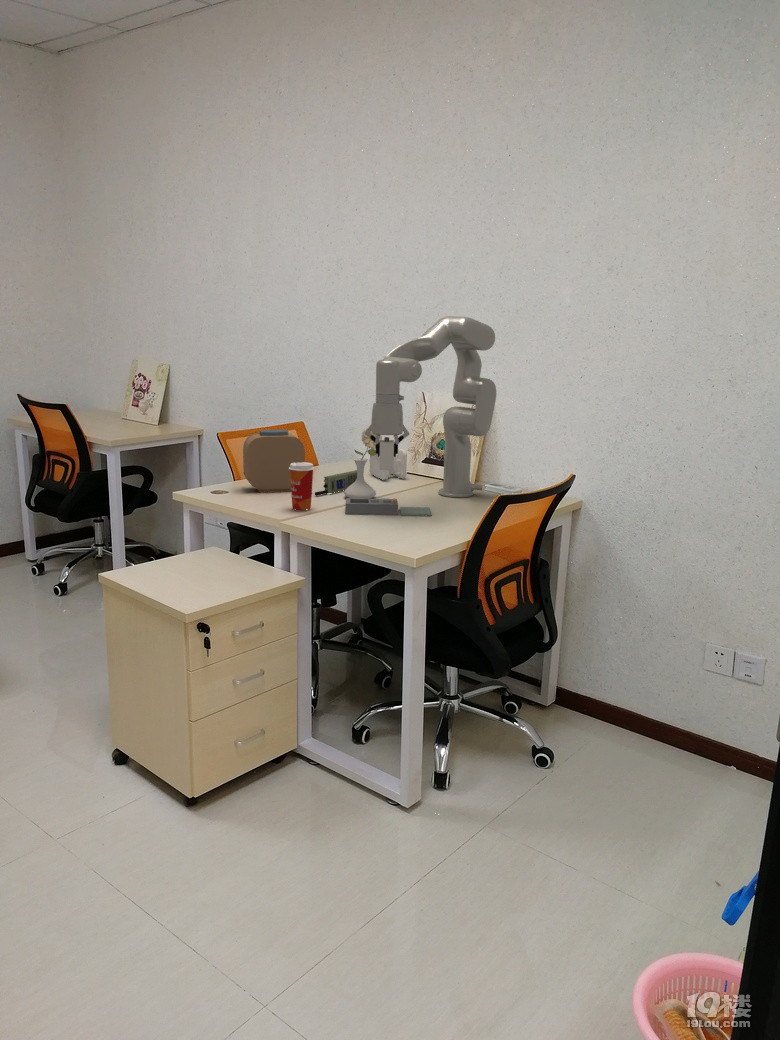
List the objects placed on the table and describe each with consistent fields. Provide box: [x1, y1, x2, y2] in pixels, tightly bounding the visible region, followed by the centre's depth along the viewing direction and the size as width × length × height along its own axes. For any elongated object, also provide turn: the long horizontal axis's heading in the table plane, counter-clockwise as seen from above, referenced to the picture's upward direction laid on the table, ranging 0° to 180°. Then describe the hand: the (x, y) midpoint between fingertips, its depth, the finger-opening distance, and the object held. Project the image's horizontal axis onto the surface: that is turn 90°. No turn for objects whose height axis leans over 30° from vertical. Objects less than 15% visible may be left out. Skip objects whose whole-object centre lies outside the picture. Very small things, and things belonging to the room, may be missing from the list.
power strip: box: [344, 497, 399, 516], centre depth 272 cm, size 17×8×4 cm, turn 92°
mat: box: [399, 506, 433, 517], centre depth 273 cm, size 10×10×1 cm
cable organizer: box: [369, 447, 408, 481], centre depth 327 cm, size 15×11×12 cm
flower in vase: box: [343, 427, 383, 499], centre depth 289 cm, size 13×11×25 cm
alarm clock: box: [242, 429, 306, 493], centre depth 299 cm, size 21×10×22 cm, turn 108°
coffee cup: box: [289, 461, 315, 511], centre depth 272 cm, size 8×8×15 cm
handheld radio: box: [314, 469, 357, 496], centre depth 301 cm, size 7×3×25 cm
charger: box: [380, 436, 395, 470], centre depth 268 cm, size 4×4×10 cm
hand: (386, 455), depth 268 cm, fingers closed on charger, 4 cm apart
